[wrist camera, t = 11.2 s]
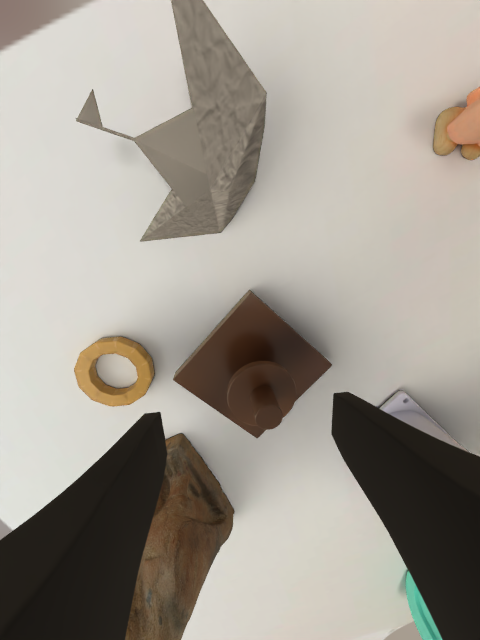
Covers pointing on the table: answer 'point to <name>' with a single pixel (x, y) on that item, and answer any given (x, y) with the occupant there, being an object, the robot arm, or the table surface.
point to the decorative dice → (420, 611)
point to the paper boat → (203, 131)
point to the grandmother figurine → (460, 128)
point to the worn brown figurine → (178, 545)
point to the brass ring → (97, 387)
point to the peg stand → (252, 367)
